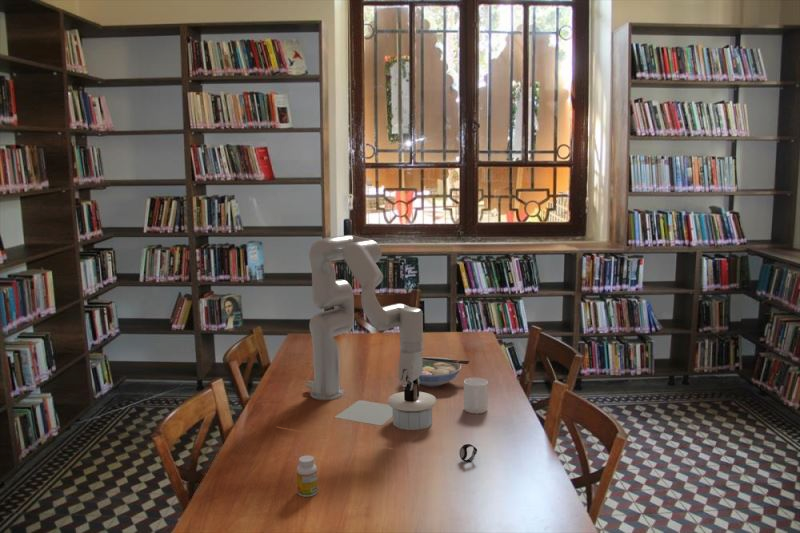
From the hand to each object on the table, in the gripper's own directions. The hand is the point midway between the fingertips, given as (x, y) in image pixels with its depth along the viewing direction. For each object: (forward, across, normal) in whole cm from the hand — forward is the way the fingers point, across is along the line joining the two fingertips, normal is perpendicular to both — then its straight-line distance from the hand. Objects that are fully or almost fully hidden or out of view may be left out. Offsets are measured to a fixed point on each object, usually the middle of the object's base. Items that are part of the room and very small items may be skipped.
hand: (411, 398), depth 234 cm
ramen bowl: (+9, -39, -9) cm, 41 cm away
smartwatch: (+9, +20, +27) cm, 35 cm away
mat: (+9, -2, -17) cm, 19 cm away
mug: (+9, -18, +16) cm, 26 cm away
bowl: (+9, 0, 0) cm, 9 cm away
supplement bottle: (+9, +55, -6) cm, 56 cm away
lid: (+1, 0, 0) cm, 1 cm away
